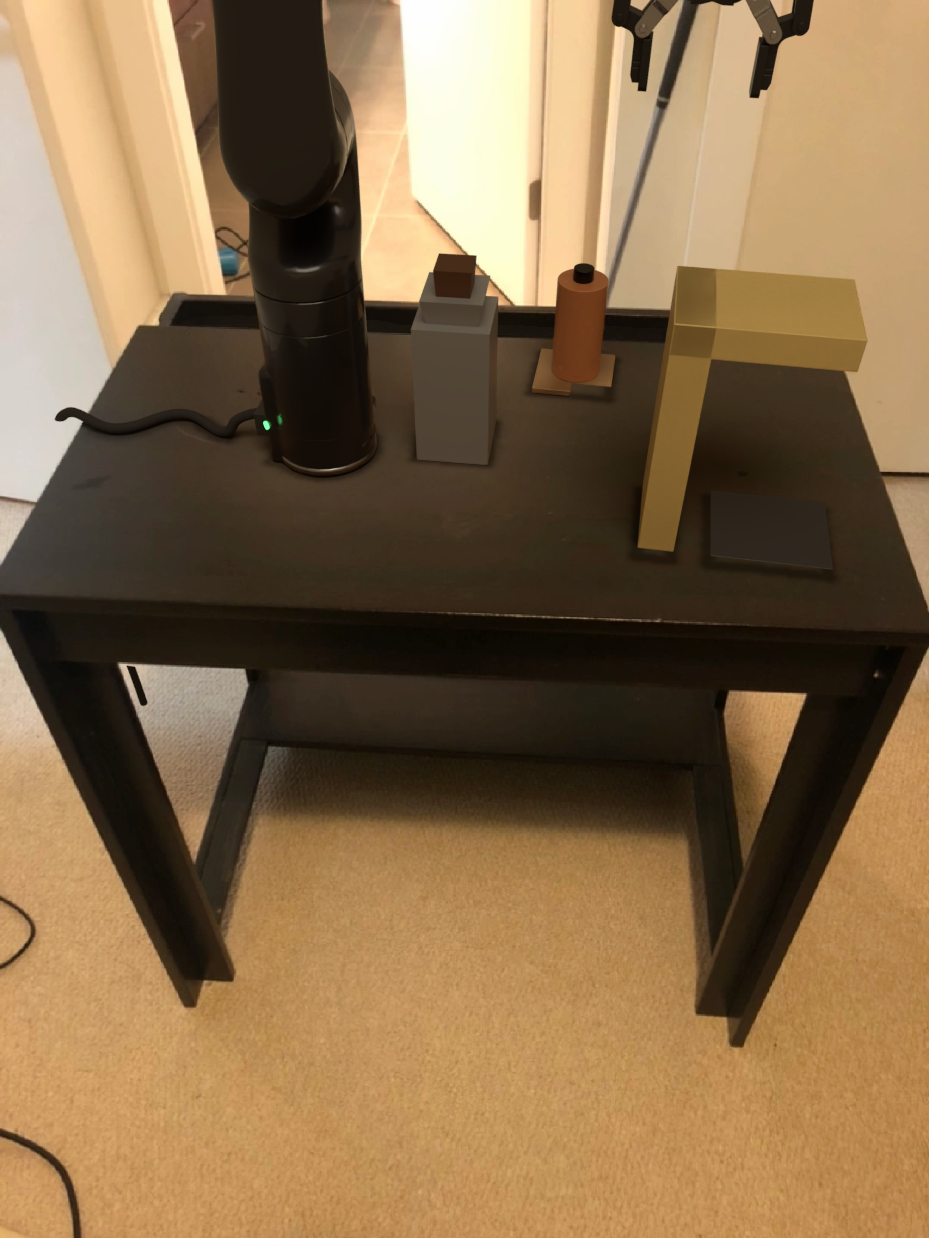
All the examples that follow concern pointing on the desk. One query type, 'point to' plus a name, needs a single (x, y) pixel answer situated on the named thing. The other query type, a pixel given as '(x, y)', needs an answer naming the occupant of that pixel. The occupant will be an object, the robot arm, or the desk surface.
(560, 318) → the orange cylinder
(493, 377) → the perfume bottle
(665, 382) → the tan l-shaped post
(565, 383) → the cork mat
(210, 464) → the desk surface
